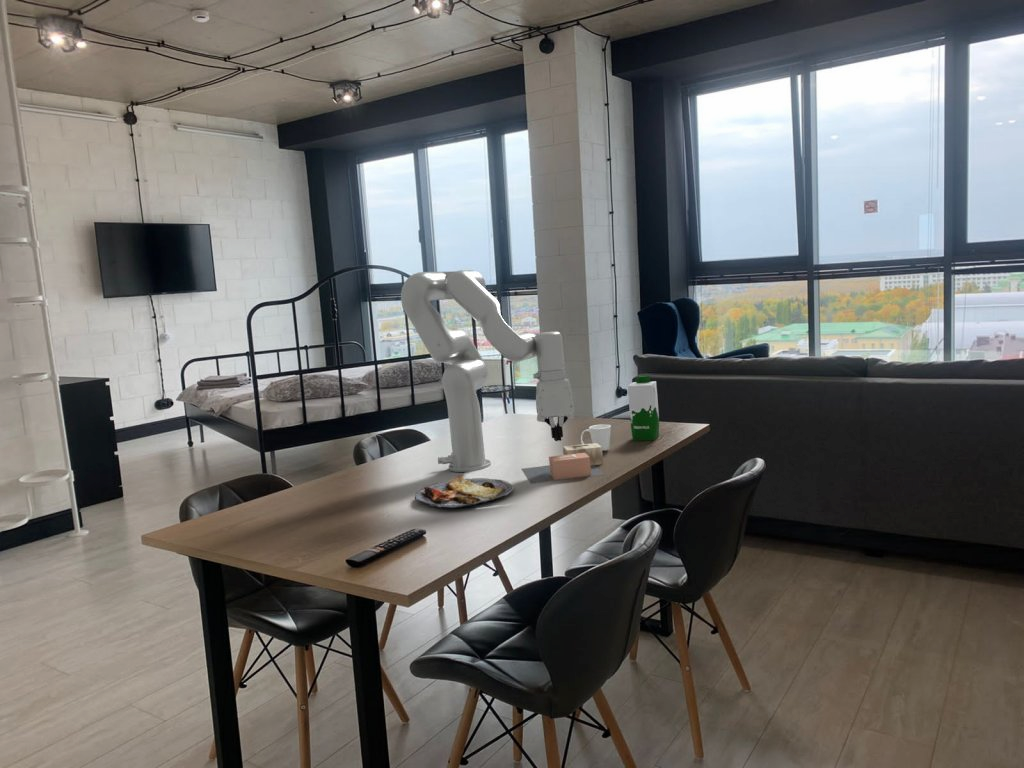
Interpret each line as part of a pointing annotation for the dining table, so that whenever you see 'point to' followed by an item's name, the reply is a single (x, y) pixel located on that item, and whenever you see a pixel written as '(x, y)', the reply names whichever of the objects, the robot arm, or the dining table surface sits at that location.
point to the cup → (599, 435)
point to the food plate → (463, 491)
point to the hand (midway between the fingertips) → (557, 440)
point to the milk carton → (643, 409)
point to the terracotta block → (570, 466)
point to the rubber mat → (544, 475)
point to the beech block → (590, 449)
